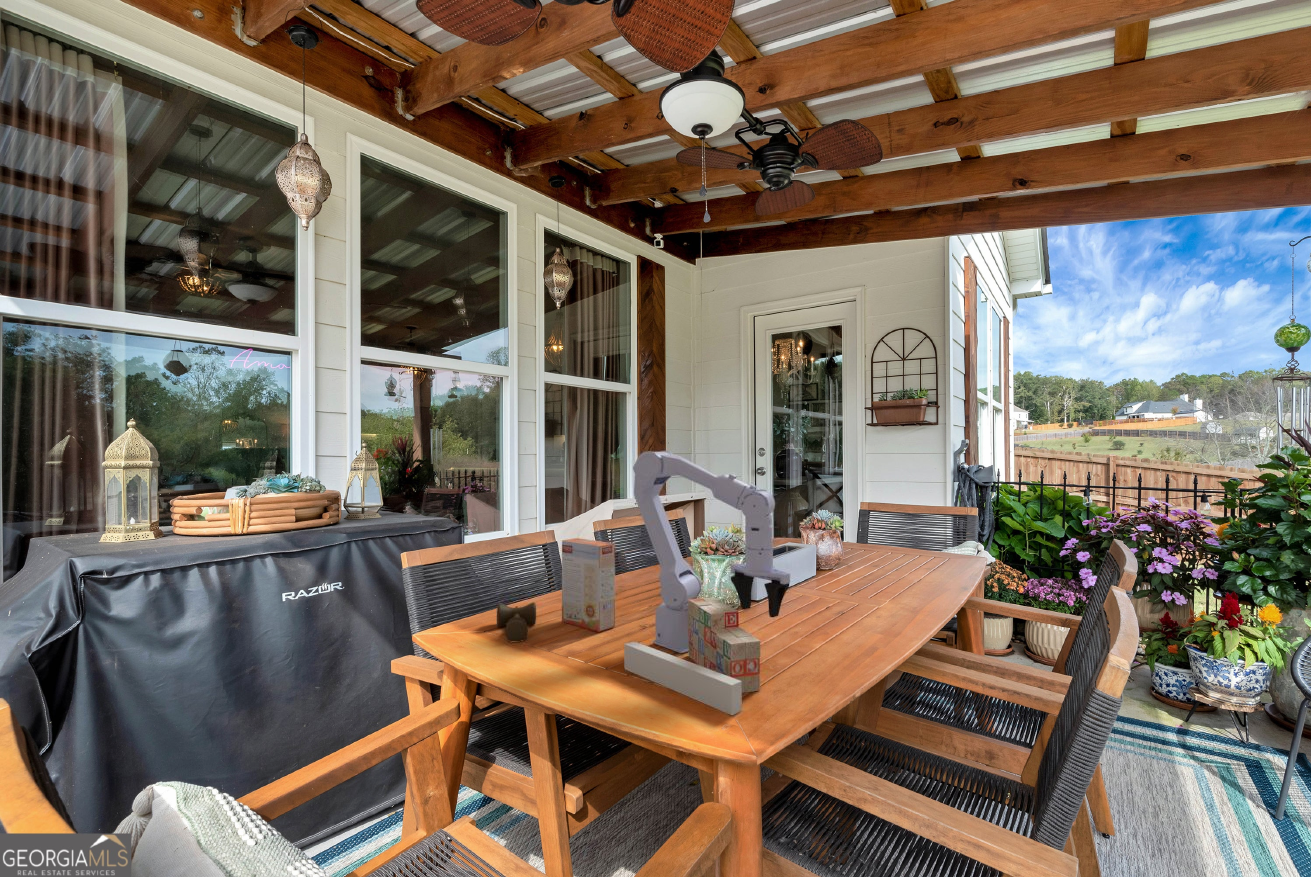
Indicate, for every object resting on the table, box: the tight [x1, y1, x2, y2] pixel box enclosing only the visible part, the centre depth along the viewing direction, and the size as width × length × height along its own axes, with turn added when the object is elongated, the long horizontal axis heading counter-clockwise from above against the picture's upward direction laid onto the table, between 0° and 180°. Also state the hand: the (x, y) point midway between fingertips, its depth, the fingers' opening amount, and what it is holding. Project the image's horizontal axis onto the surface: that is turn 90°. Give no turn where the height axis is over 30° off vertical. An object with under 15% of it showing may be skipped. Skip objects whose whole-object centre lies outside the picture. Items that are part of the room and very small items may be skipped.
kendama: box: [496, 601, 537, 642], centre depth 145 cm, size 6×10×20 cm
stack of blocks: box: [688, 596, 761, 694], centre depth 118 cm, size 21×6×12 cm, turn 17°
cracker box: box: [561, 537, 616, 633], centre depth 149 cm, size 14×6×21 cm, turn 48°
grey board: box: [623, 640, 743, 716], centre depth 110 cm, size 28×2×5 cm, turn 43°
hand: (759, 612), depth 126 cm, fingers open, 7 cm apart
